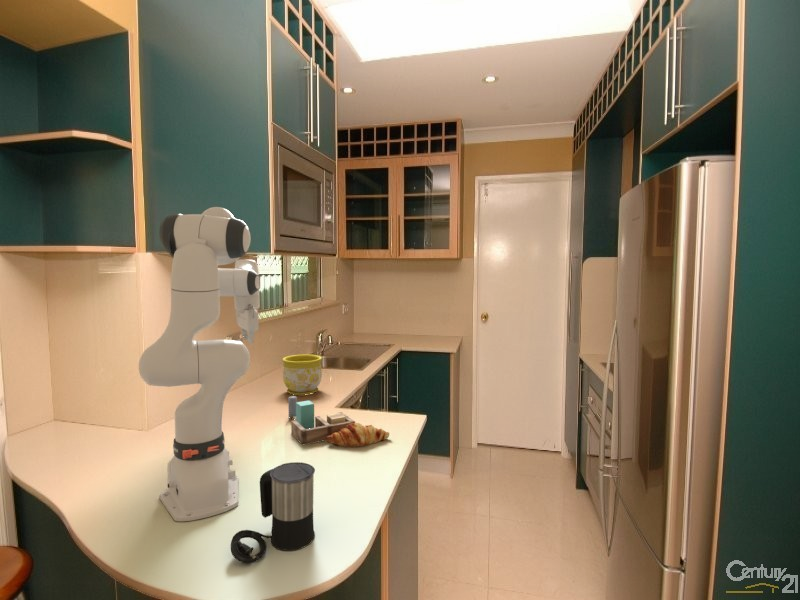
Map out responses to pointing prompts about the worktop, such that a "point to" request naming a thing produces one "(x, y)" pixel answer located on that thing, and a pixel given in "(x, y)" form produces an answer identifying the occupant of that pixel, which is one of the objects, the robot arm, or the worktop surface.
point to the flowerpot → (302, 373)
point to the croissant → (357, 435)
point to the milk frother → (282, 511)
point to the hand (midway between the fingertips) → (247, 341)
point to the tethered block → (301, 412)
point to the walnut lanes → (318, 430)
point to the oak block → (335, 418)
